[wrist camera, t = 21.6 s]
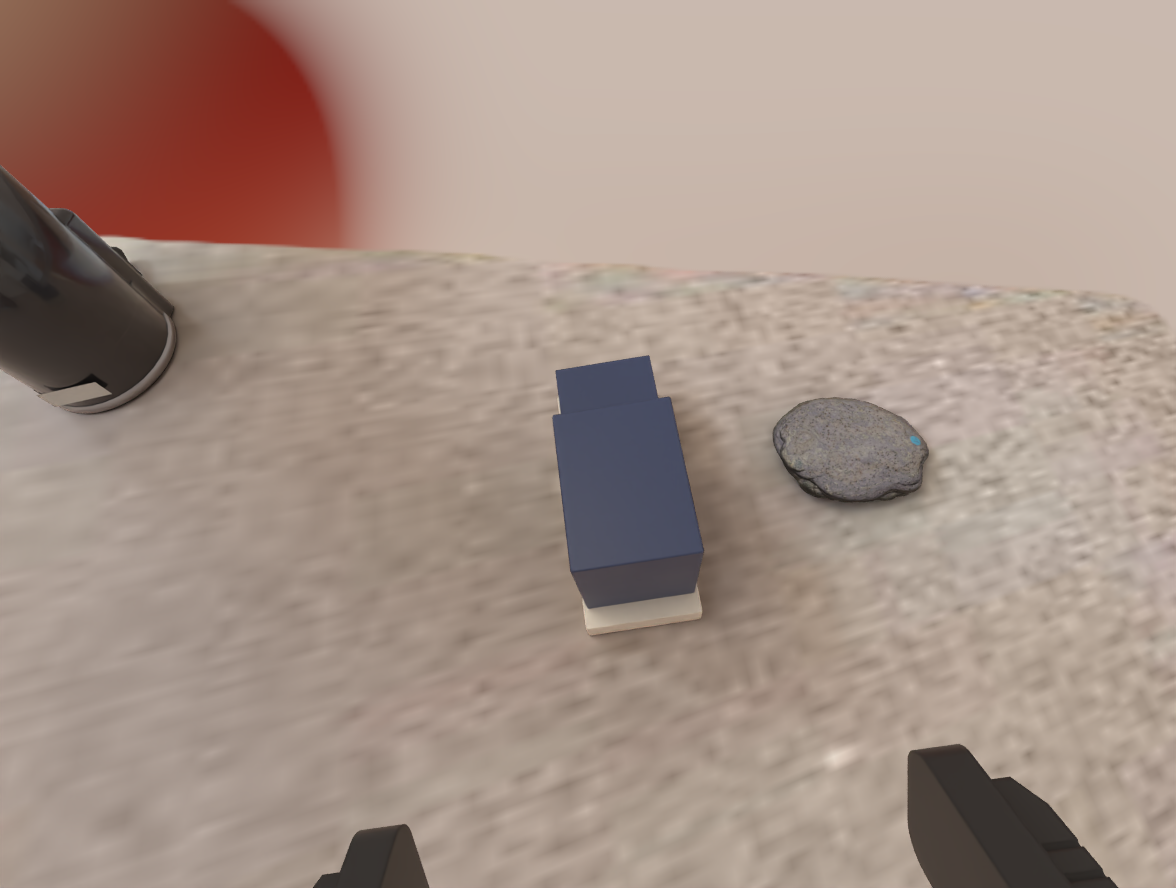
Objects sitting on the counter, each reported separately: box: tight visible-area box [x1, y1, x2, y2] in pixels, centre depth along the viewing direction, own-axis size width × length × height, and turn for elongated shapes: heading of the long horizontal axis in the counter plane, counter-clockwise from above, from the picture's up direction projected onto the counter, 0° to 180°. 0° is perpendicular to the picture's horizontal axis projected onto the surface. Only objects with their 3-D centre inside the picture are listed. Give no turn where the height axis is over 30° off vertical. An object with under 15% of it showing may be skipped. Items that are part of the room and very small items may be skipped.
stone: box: [773, 397, 929, 503], centre depth 36 cm, size 7×8×2 cm
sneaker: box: [552, 355, 704, 635], centre depth 33 cm, size 14×6×9 cm, turn 7°
